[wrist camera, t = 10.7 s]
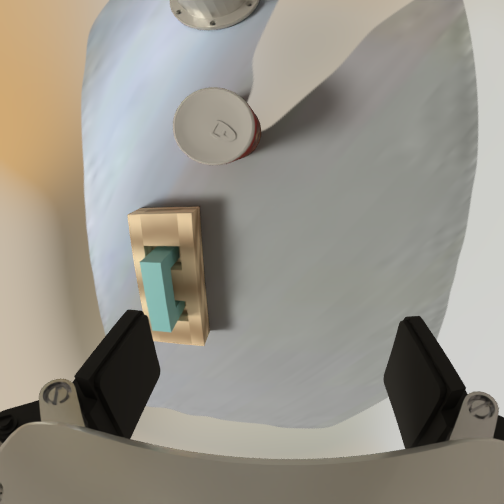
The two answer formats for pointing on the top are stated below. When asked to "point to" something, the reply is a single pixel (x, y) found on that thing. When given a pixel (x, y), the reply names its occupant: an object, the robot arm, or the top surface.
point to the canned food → (216, 126)
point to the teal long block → (161, 288)
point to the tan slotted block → (175, 266)
